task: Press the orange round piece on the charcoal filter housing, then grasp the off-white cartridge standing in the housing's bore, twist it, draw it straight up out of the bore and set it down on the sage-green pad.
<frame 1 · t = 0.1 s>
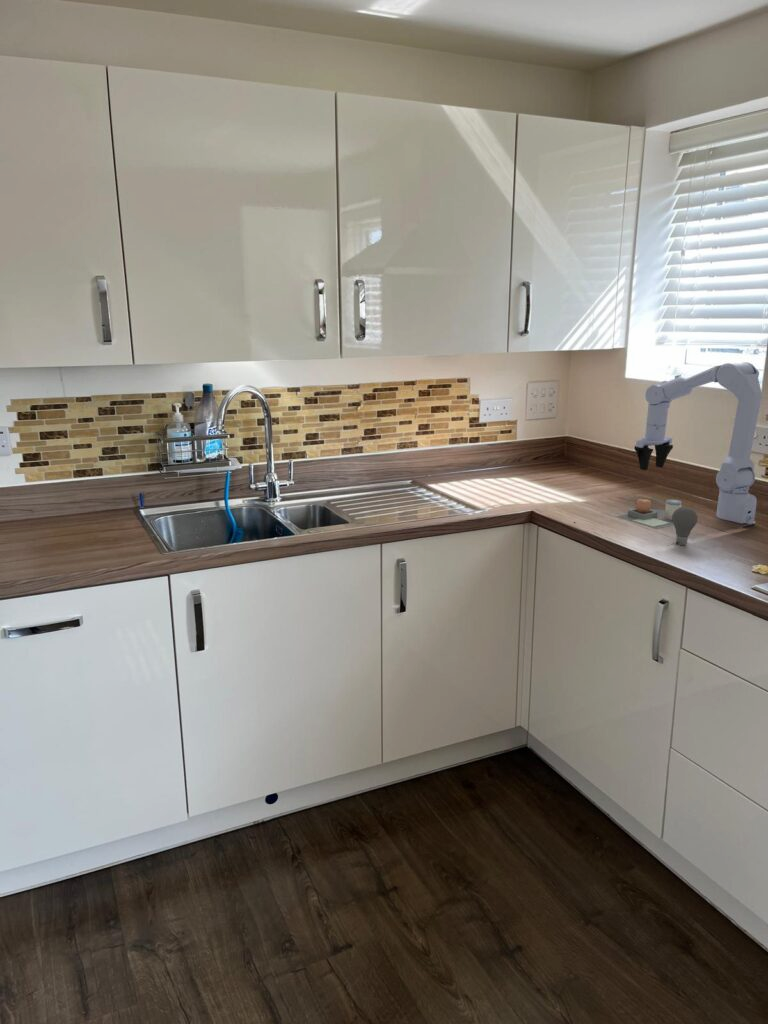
hand: (651, 468, 235), 10 cm above the countertop, fingers open, 7 cm apart
cartridge: (671, 521, 214), resting in housing
light bulb: (681, 545, 193), on the countertop
housing: (655, 522, 213), on the countertop
orange round piece: (643, 505, 213), point 4 cm above the countertop, slide at 0.0 cm
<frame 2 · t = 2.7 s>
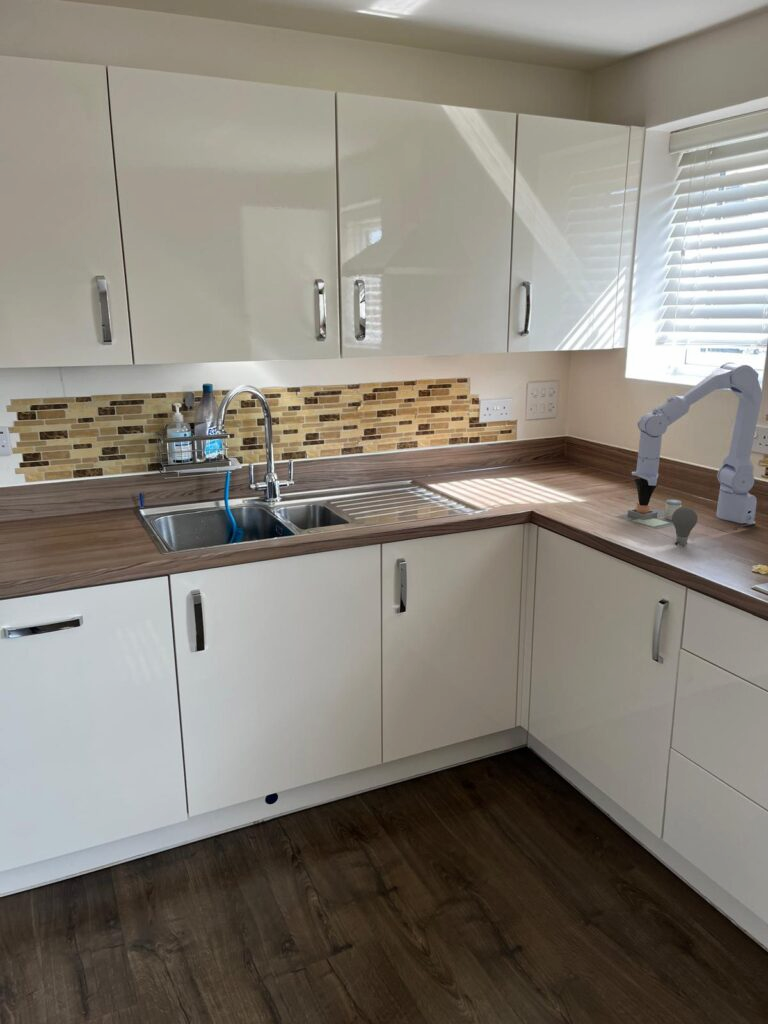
hand: (643, 504, 213), 5 cm above the countertop, fingers closed, pressing on orange round piece
orange round piece: (642, 509, 214), point 3 cm above the countertop, slide at 1.2 cm, touching gripper
everything else where it was.
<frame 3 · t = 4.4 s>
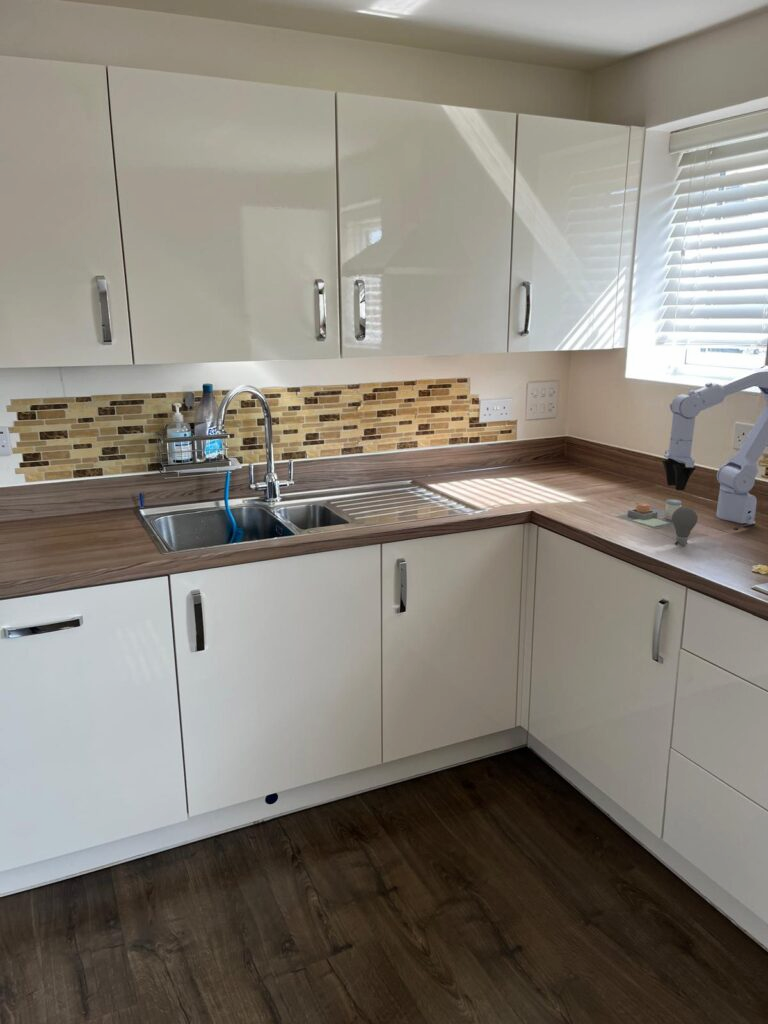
hand: (675, 487, 211), 10 cm above the countertop, fingers open, 5 cm apart
orange round piece: (642, 509, 214), point 3 cm above the countertop, slide at 1.2 cm
everything else where it was.
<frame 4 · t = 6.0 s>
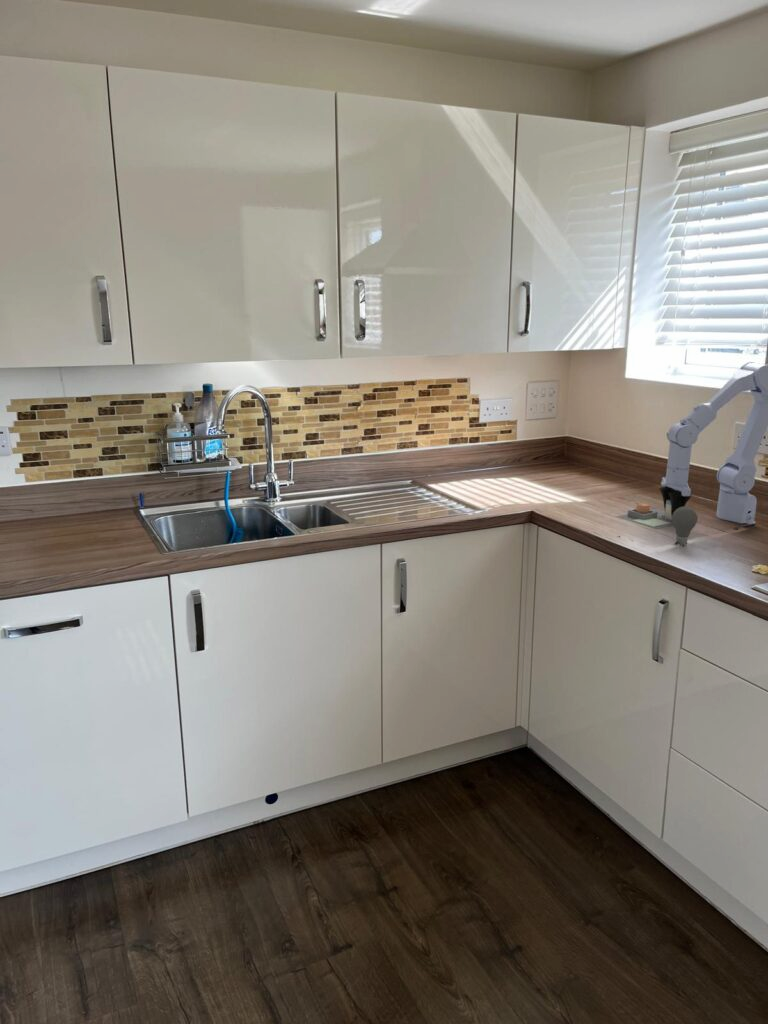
hand: (672, 514, 213), 2 cm above the countertop, fingers closed on cartridge, 4 cm apart
cartridge: (671, 521, 214), resting in housing, touching gripper
everything else where it was.
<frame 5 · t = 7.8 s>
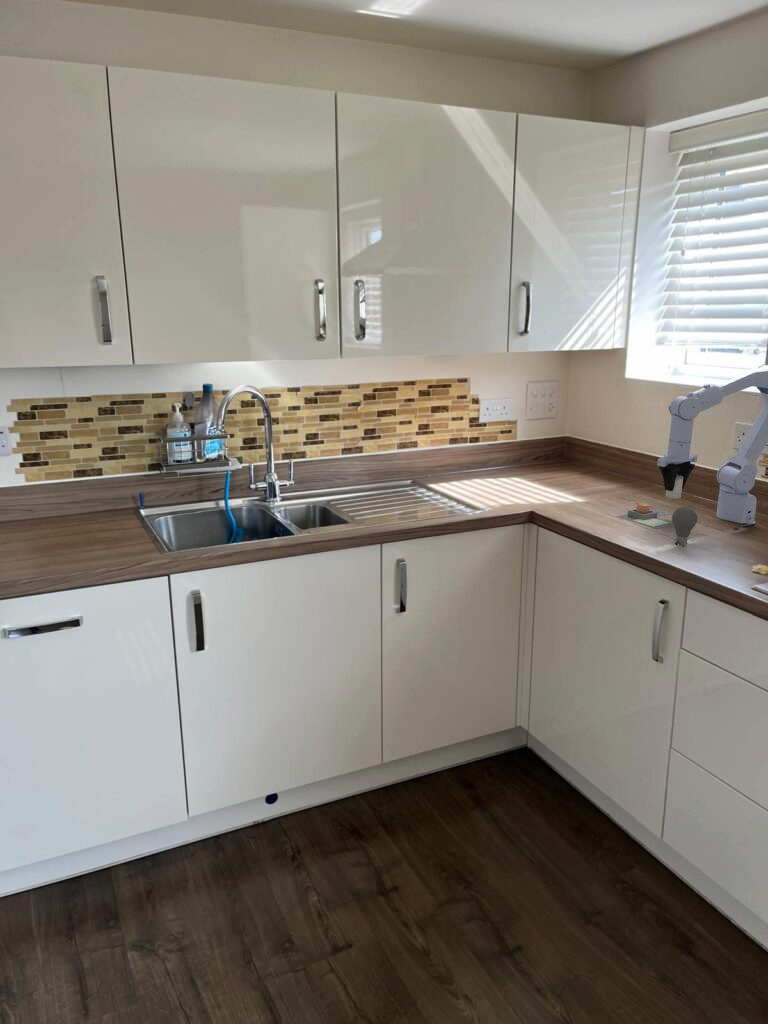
hand: (674, 489, 211), 9 cm above the countertop, fingers closed on cartridge, 4 cm apart
cartridge: (673, 496, 212), point 7 cm above the countertop, touching gripper
everything else where it was.
when the fingers open (5 cm above the countertop, at t = 9.6 s): cartridge drops 1 cm, resting on housing.
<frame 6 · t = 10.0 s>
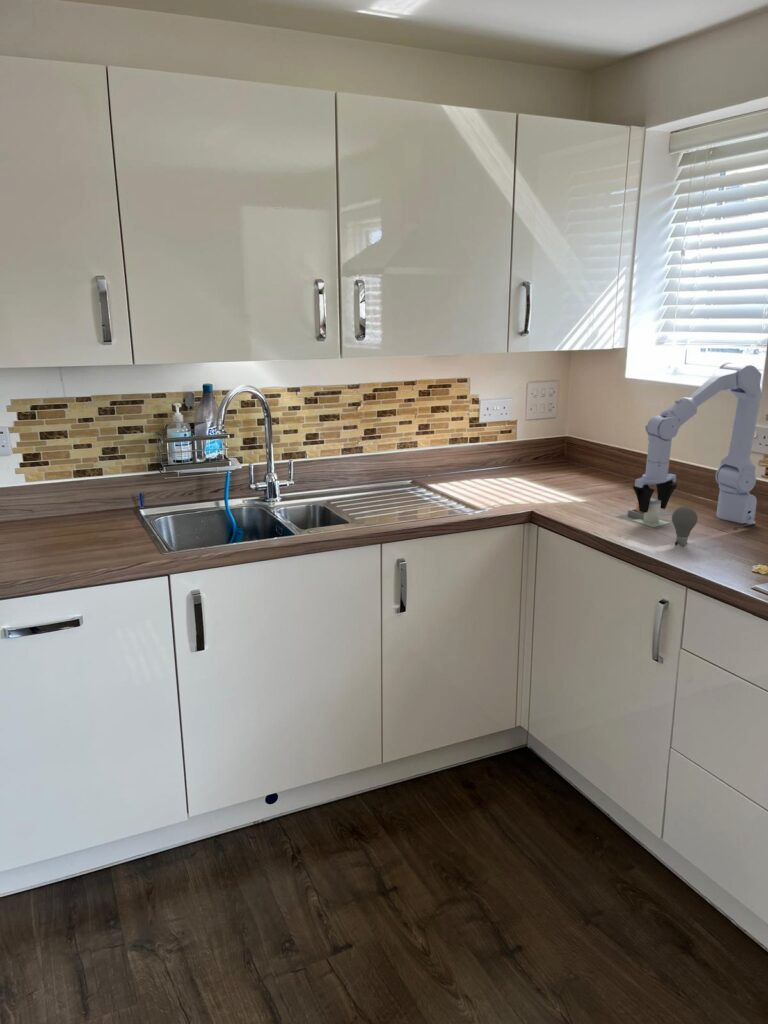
hand: (652, 509, 208), 5 cm above the countertop, fingers open, 7 cm apart
cartridge: (651, 521, 209), point 1 cm above the countertop, touching housing
everything else where it was.
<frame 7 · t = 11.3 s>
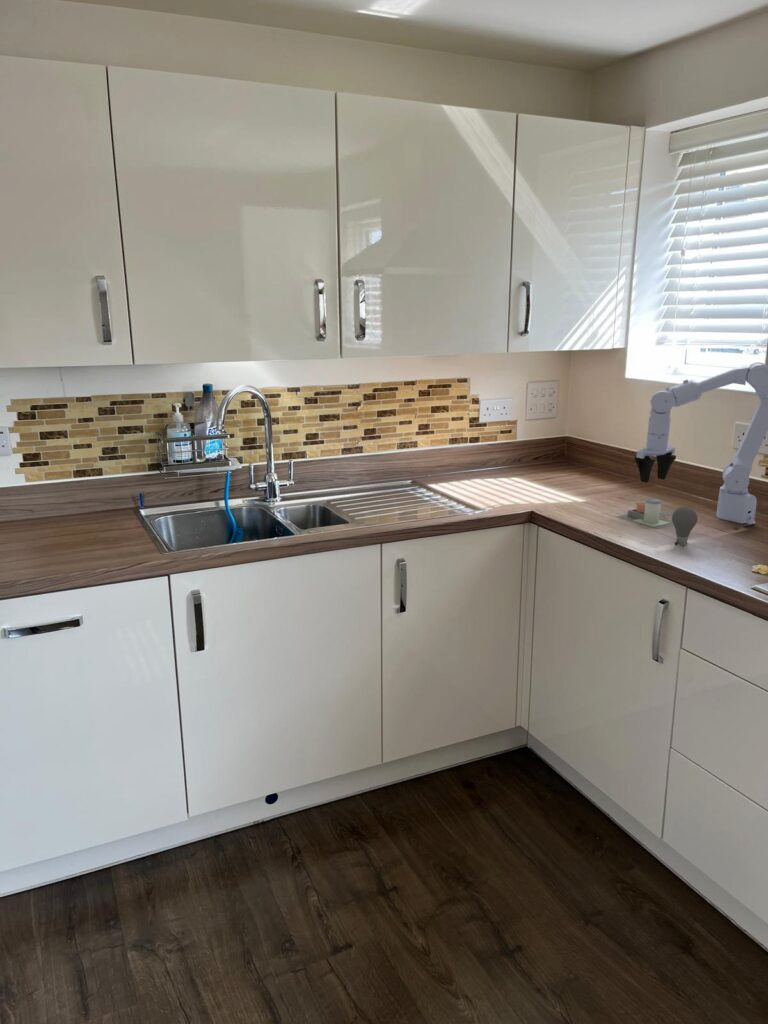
hand: (653, 480, 220), 10 cm above the countertop, fingers open, 7 cm apart
nothing on the countertop moved.
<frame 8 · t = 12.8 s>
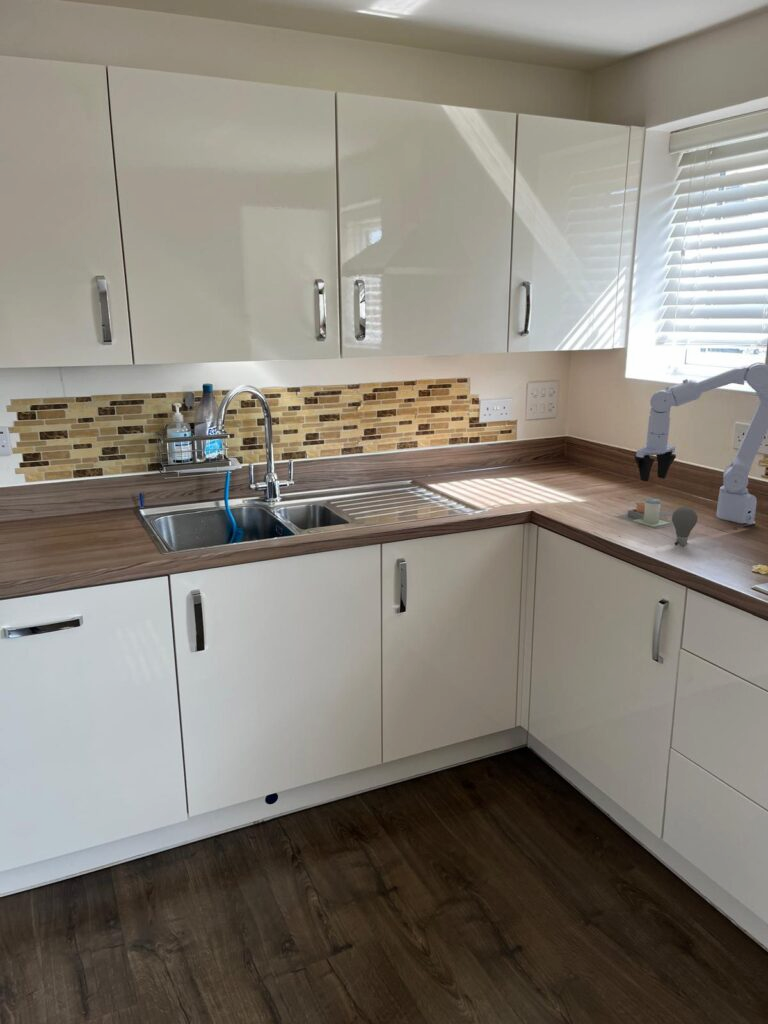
hand: (652, 479, 221), 10 cm above the countertop, fingers open, 7 cm apart
nothing on the countertop moved.
at the end: cartridge 0.1 cm from the target spot, point 1.4 cm above the countertop; cartridge tilted 2°; orange round piece slide at 1.2 cm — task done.
